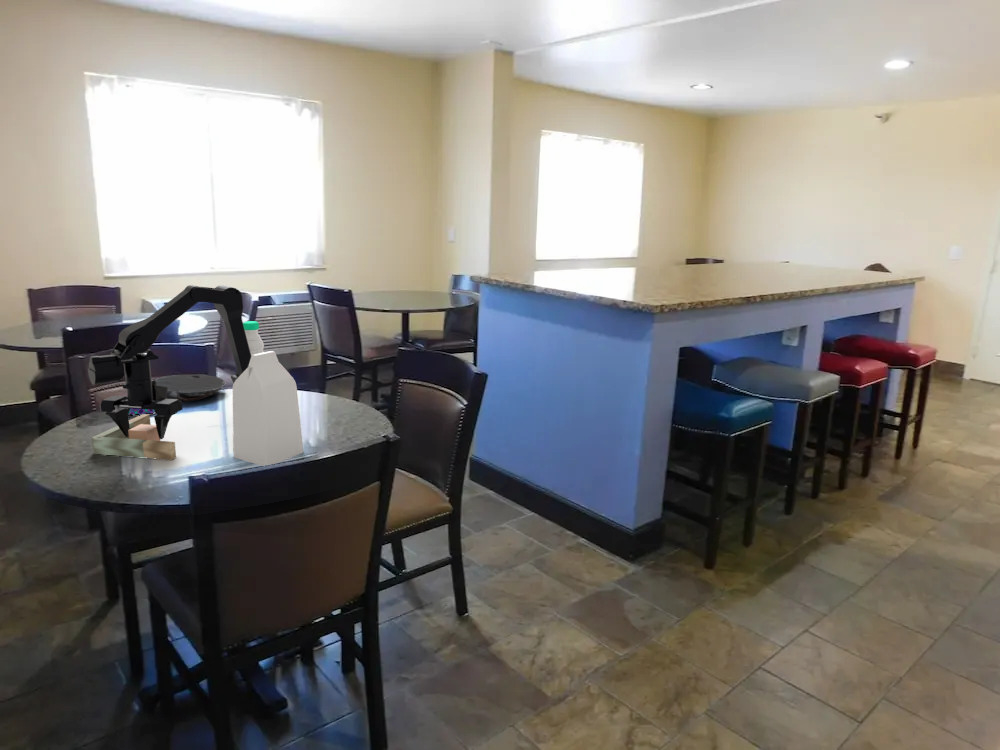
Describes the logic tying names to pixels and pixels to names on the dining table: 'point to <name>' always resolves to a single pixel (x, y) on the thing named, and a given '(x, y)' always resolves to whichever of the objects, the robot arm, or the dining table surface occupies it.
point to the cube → (144, 432)
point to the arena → (132, 443)
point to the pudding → (140, 411)
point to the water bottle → (253, 337)
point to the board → (190, 386)
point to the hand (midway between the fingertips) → (144, 437)
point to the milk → (266, 412)
